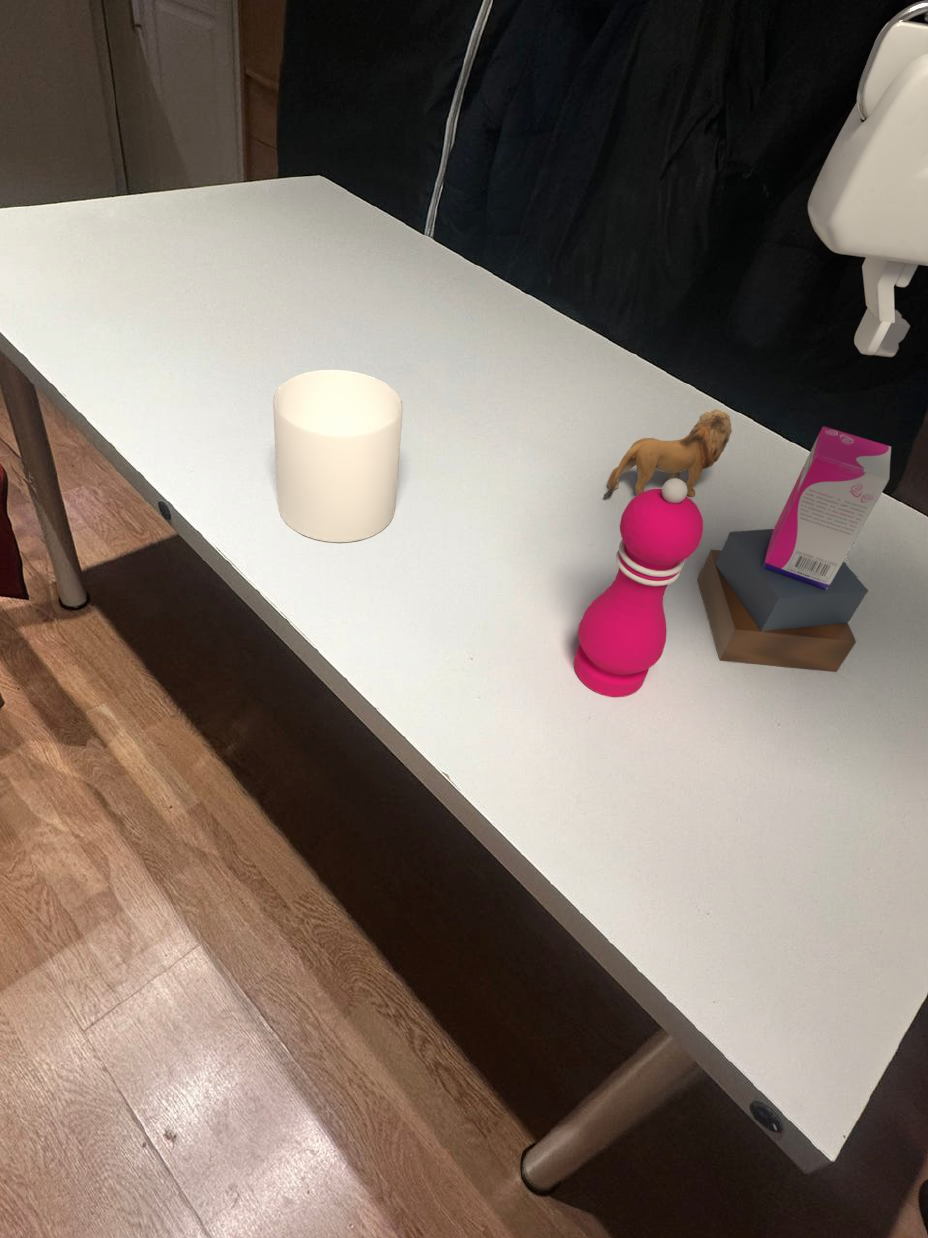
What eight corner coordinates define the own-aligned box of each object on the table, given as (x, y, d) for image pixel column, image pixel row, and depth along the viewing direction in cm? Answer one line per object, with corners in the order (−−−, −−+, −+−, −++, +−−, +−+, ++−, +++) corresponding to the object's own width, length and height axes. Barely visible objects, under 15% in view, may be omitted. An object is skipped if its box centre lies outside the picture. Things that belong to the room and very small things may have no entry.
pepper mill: (558, 684, 70) (617, 492, 56) (579, 630, 75) (638, 441, 61) (641, 713, 68) (722, 524, 54) (656, 656, 73) (734, 469, 60)
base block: (802, 590, 83) (819, 560, 80) (836, 672, 75) (856, 641, 72) (697, 579, 82) (710, 548, 79) (719, 660, 74) (735, 629, 71)
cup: (298, 553, 77) (295, 444, 69) (263, 482, 85) (257, 376, 76) (412, 530, 82) (423, 426, 74) (370, 465, 89) (376, 363, 81)
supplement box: (833, 554, 74) (895, 445, 66) (827, 591, 70) (891, 480, 62) (770, 532, 75) (823, 422, 68) (760, 568, 71) (815, 456, 63)
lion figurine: (692, 465, 97) (717, 397, 91) (721, 491, 94) (749, 422, 88) (590, 488, 91) (610, 417, 85) (618, 516, 88) (640, 444, 82)
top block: (796, 558, 80) (814, 525, 77) (848, 623, 74) (868, 590, 71) (714, 564, 78) (729, 531, 75) (761, 632, 71) (778, 598, 69)
